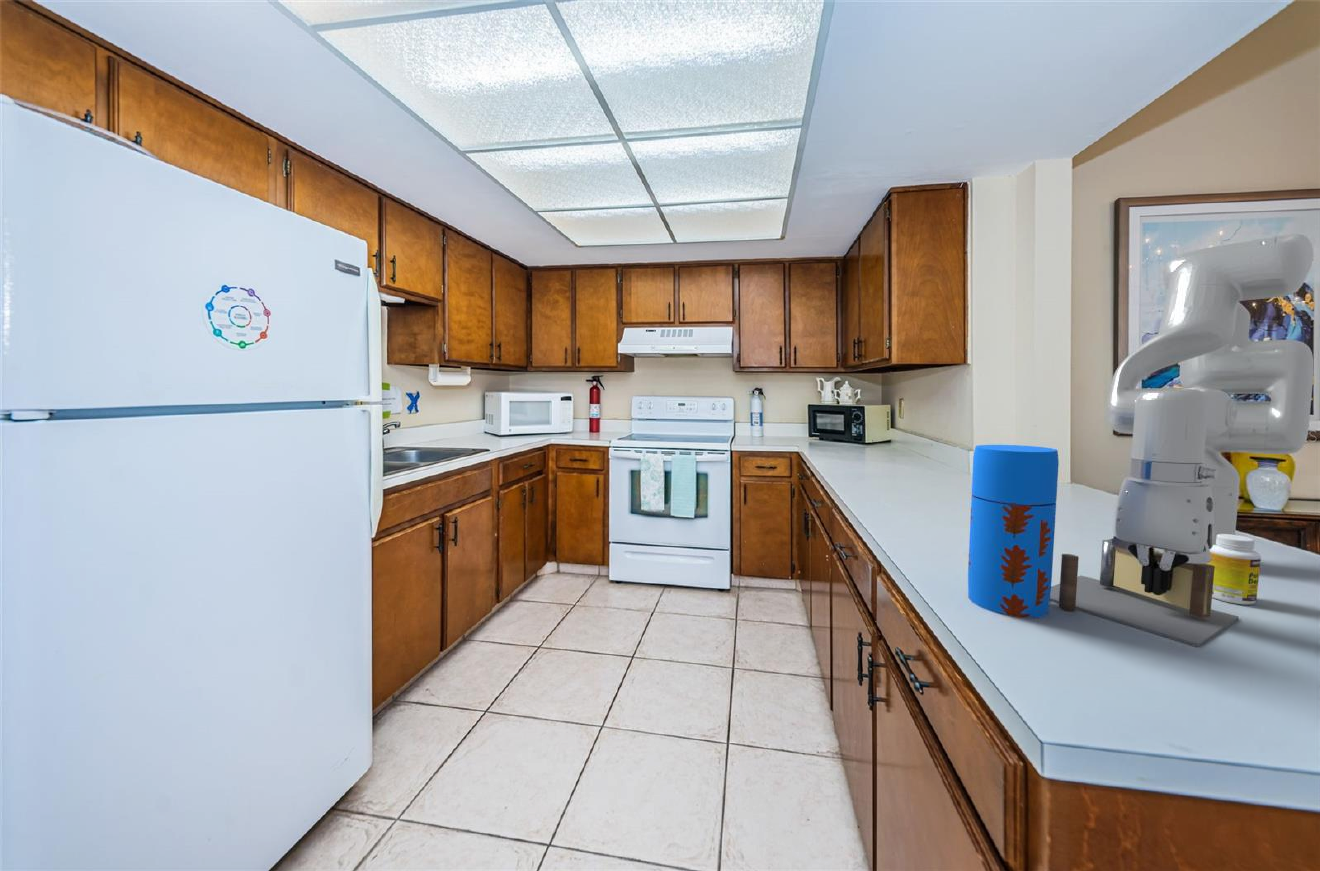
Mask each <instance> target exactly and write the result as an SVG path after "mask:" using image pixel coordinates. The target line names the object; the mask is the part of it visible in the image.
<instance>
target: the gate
mask: <svg viewBox="0 0 1320 871" xmlns="http://www.w3.org/2000/svg"><path fill="white" fill-rule="evenodd" d="M1155 553H1156V561H1157V564H1160V562H1161V558H1162V555H1163V553H1159V552H1155ZM1100 559H1101V560H1100V561H1101V562H1100V573H1099V574H1100V575H1099V580H1100V585H1102V586H1106V587H1116V586H1117V587H1120V588H1123V589H1126V590H1129V591H1133V592H1136V593H1139V594H1142V595H1145V596H1148V597H1151V598H1154V599H1157V600H1160V601H1164V602H1167V603H1170V604H1173V605H1176V606H1179V607H1182V608H1185V609H1188V610H1190V612H1189V614H1191V615H1194V616H1197V617H1200V618H1205V617H1210V614H1211V609H1212V601H1213V598H1212V592H1213V580H1214V569H1215V566H1212V565H1208V564H1196V563H1184V564H1182V565H1180V566H1177V567H1175V568H1173V578H1172V587H1171V590H1169V591H1167V592H1166V593H1164V594H1162V595H1155V594H1154V593H1147V592H1145V591H1144V589H1145V585H1143V584H1141V575H1142V565H1141V564H1140V563H1139V561H1138V559H1137V558H1136V557H1135V556H1134V555H1133V554H1132V553H1131V552H1130V551H1129V550H1125V549H1123V548H1120V547H1118V546H1115V545H1114V544H1113V543H1112V541H1111V540H1110V539H1103V540H1102V544H1101V558H1100Z"/></svg>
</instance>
